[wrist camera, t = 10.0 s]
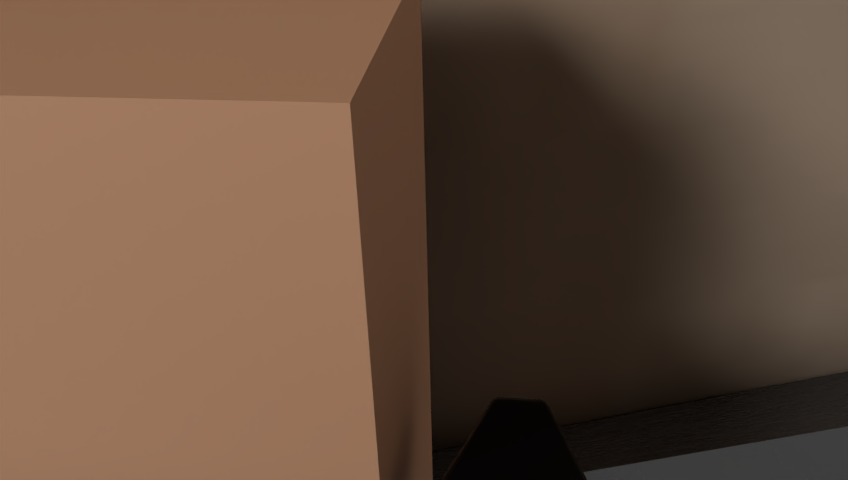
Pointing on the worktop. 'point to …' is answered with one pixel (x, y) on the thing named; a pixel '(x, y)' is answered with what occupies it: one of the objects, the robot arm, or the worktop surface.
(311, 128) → the swing bar
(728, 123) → the worktop surface
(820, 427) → the label plate
